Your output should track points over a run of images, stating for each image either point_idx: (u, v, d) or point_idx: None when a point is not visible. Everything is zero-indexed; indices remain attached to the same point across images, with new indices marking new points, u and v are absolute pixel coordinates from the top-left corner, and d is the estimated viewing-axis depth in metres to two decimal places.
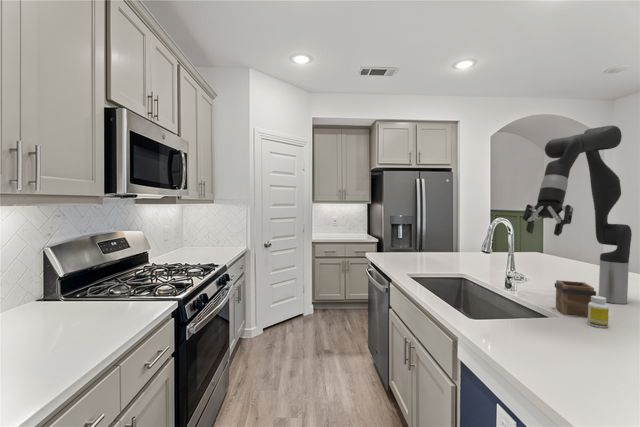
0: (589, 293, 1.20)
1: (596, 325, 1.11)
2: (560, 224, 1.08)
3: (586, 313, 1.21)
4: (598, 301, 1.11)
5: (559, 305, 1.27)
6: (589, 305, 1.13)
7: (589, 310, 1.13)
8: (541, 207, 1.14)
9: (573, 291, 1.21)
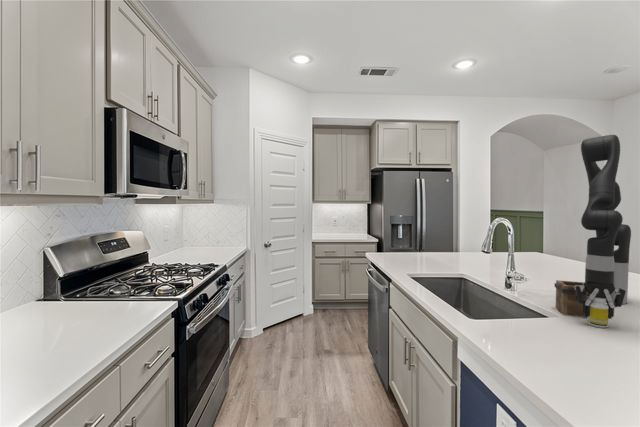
0: None
1: (596, 325, 1.11)
2: (613, 308, 1.10)
3: None
4: (598, 301, 1.11)
5: (559, 305, 1.27)
6: (589, 305, 1.13)
7: None
8: (596, 290, 1.11)
9: (573, 291, 1.21)
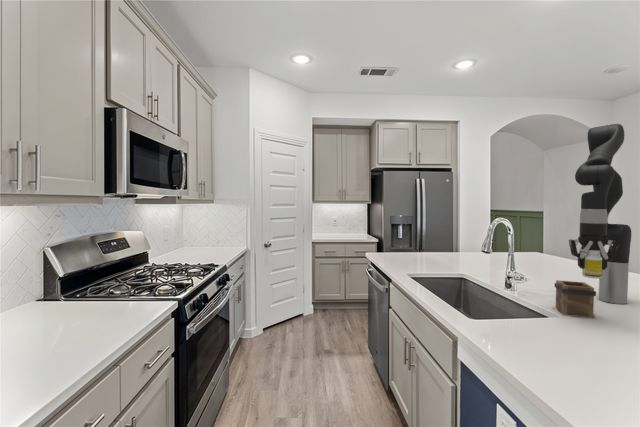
0: (589, 293, 1.20)
1: (591, 277, 1.15)
2: (606, 259, 1.15)
3: (586, 313, 1.21)
4: (592, 253, 1.15)
5: (559, 305, 1.27)
6: (584, 258, 1.17)
7: (584, 263, 1.17)
8: (590, 242, 1.15)
9: (573, 291, 1.21)
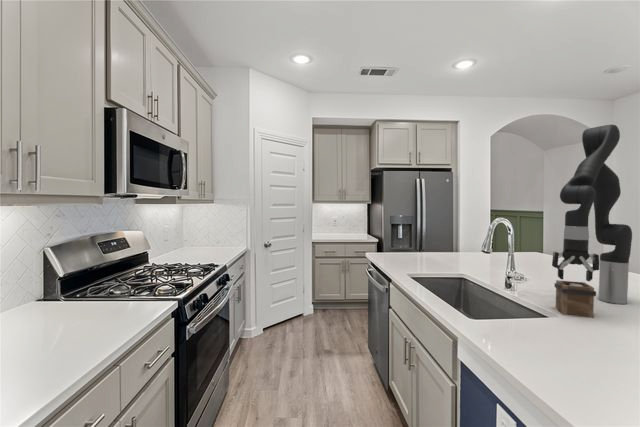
0: (589, 293, 1.20)
1: None
2: (591, 272, 1.23)
3: (586, 313, 1.21)
4: None
5: (559, 305, 1.27)
6: None
7: None
8: (573, 257, 1.24)
9: (573, 291, 1.21)
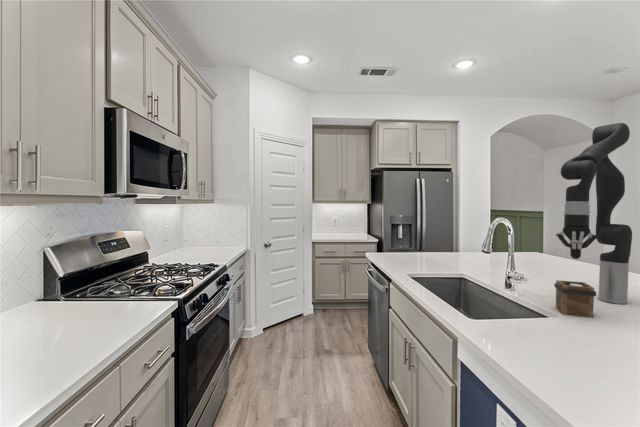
0: (589, 293, 1.20)
1: None
2: (580, 249, 1.24)
3: (586, 313, 1.21)
4: None
5: (559, 305, 1.27)
6: None
7: None
8: (573, 232, 1.23)
9: (573, 291, 1.21)
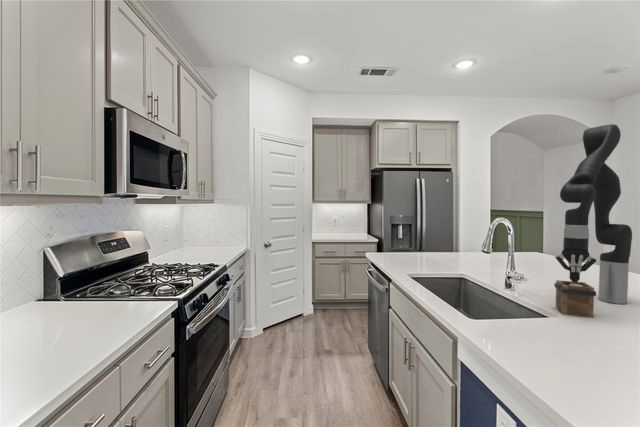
0: (589, 293, 1.20)
1: None
2: (579, 273, 1.24)
3: (586, 313, 1.21)
4: None
5: (559, 305, 1.27)
6: None
7: None
8: (572, 255, 1.24)
9: (573, 291, 1.21)
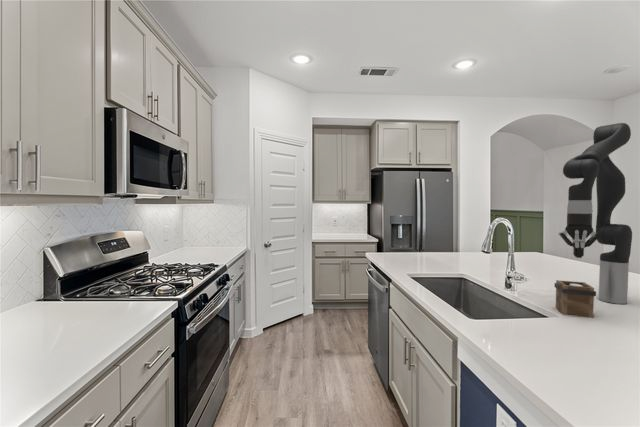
0: (589, 293, 1.20)
1: None
2: (583, 248, 1.24)
3: (586, 313, 1.21)
4: None
5: (559, 305, 1.27)
6: None
7: None
8: (576, 231, 1.23)
9: (573, 291, 1.21)
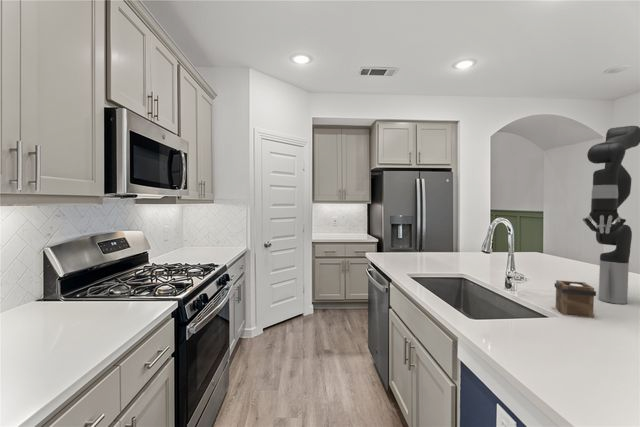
0: (589, 293, 1.20)
1: None
2: (607, 234, 1.22)
3: (586, 313, 1.21)
4: None
5: (559, 305, 1.27)
6: None
7: None
8: (601, 216, 1.22)
9: (573, 291, 1.21)
